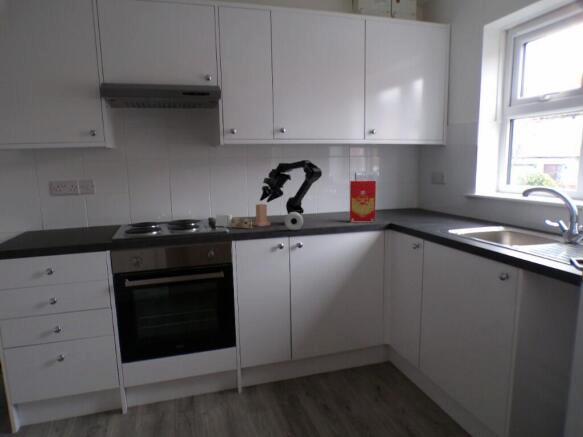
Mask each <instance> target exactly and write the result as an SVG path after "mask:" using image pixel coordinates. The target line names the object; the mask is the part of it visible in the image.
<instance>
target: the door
mask: <svg viewBox="0 0 583 437" xmlns="http://www.w3.org/2000/svg"><path fill="white" fill-rule="evenodd" d="M231 228H240V229H253V219H252V218H236V217H232V227H231Z"/></svg>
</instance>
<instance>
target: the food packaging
mask: <svg viewBox="0 0 583 437" xmlns="http://www.w3.org/2000/svg"><path fill="white" fill-rule="evenodd" d="M376 181H377V180H350V183H349V222H350V221H375V222H376V192H377V191H376V188H377V182H376Z"/></svg>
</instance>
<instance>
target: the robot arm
mask: <svg viewBox="0 0 583 437" xmlns="http://www.w3.org/2000/svg"><path fill="white" fill-rule="evenodd" d="M297 169H298V170H299V169H303V172H304V173H305V174H304V180H303V182H302V184H301V185H300V187H299V189H298V190H297V191H296V193H295V195H294V196H291V197H288V200H287V201H286V204H285V208H286V212H287V215H288V214H289V213H291V212H297V213H299V214H300V215H301V216H302V214H304V212H305V211H304V208H303V207H302V205H303V204H302V201H303V200H304V197H305V196H306V195H307V193H308V191H309V190H310V189H311V187H312V185H313V184H314V183H316V182H317V181H319V179H320V178H321V177H322V175H323V173H322V172H323V171H322V169H321V168H320V167H318V166H317V165H316V164H314V163H313V162H312V161H311V160H309V159H303V160H299V161H294V162H279V163H278V164H277V167H276V168H271V170H270V171H269V173H268V177H264V178H263V181H262V183H263V184H265V185H263V186H261V190H262V193H261V196H260V198H259V201H260V202H262V201H263V200H265V199H266V202H267V203H271V202H272V201H275V200H276V199H279V198H281V197H282V198H283V196H284V191H283V190H282V189H283V188H284V185H285V184H286V183H287V181H292V177H291V175H290V172H292V171H293V170H297ZM291 223H292V224H296V223H297V219H295V218H293V219H291Z"/></svg>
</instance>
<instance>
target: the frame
mask: <svg viewBox="0 0 583 437" xmlns="http://www.w3.org/2000/svg"><path fill="white" fill-rule="evenodd" d="M215 218H216V219H215V220H216V226H217V225H221V226H224V227H223V228H233V227H232V218H233V214H223V213H222V214H221V213H220V214H219V213H218V214H215Z"/></svg>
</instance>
